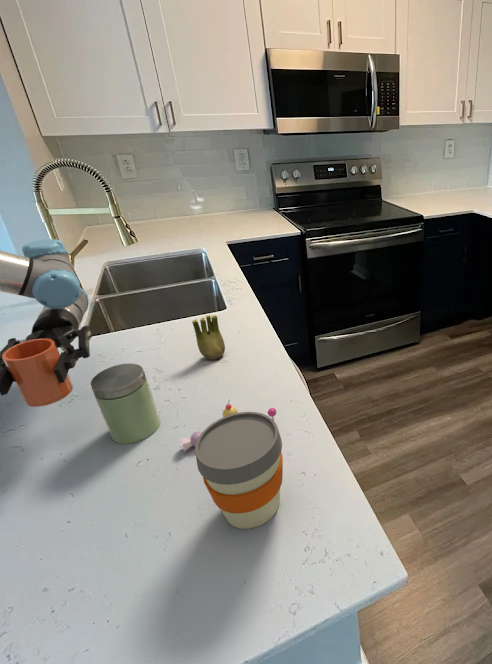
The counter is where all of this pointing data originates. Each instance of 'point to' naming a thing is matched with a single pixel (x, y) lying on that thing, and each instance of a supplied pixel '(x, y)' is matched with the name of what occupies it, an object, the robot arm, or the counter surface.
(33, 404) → the cup
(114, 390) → the jar lid
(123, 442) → the jar
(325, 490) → the counter surface
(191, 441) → the candy
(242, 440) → the reusable coffee cup
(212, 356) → the fennel bulb
